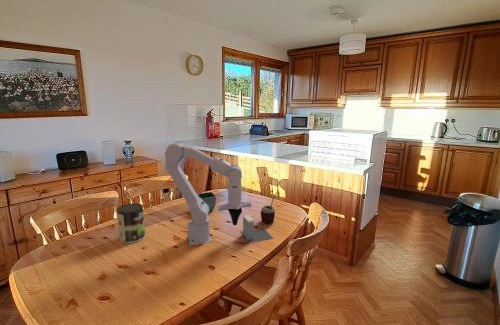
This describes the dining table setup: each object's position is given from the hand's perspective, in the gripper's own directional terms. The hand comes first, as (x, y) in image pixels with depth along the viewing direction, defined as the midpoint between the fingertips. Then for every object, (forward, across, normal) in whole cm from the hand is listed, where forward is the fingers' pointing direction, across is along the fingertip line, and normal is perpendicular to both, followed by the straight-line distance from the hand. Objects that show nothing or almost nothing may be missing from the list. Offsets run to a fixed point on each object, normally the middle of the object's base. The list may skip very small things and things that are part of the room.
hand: (234, 224), depth 112 cm
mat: (+7, +10, 0) cm, 13 cm away
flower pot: (+8, -5, +36) cm, 37 cm away
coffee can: (+8, -42, +17) cm, 46 cm away
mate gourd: (+8, +21, +11) cm, 25 cm away
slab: (+7, +6, 0) cm, 9 cm away
